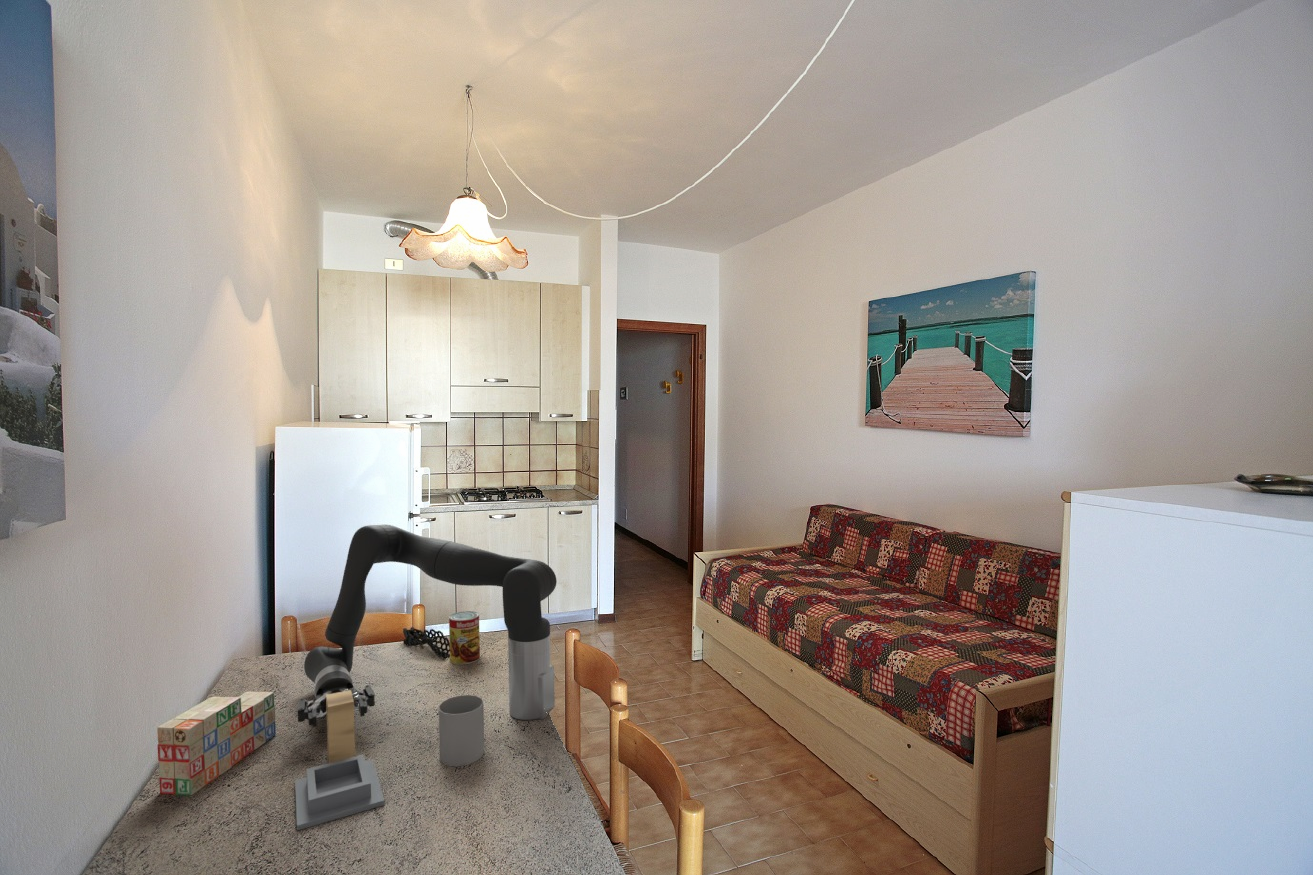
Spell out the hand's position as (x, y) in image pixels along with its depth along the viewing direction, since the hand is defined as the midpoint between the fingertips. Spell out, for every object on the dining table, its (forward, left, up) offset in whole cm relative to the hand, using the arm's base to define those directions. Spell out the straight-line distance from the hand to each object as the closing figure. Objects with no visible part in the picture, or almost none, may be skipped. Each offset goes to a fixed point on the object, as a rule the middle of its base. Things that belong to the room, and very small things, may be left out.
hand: (339, 716), depth 128 cm
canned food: (+1, -48, -7) cm, 48 cm away
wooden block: (-3, +3, -7) cm, 8 cm away
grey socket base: (-11, +13, -6) cm, 18 cm away
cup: (-25, -4, -7) cm, 26 cm away
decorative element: (+16, -52, -7) cm, 55 cm away
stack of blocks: (+19, +10, -7) cm, 22 cm away
